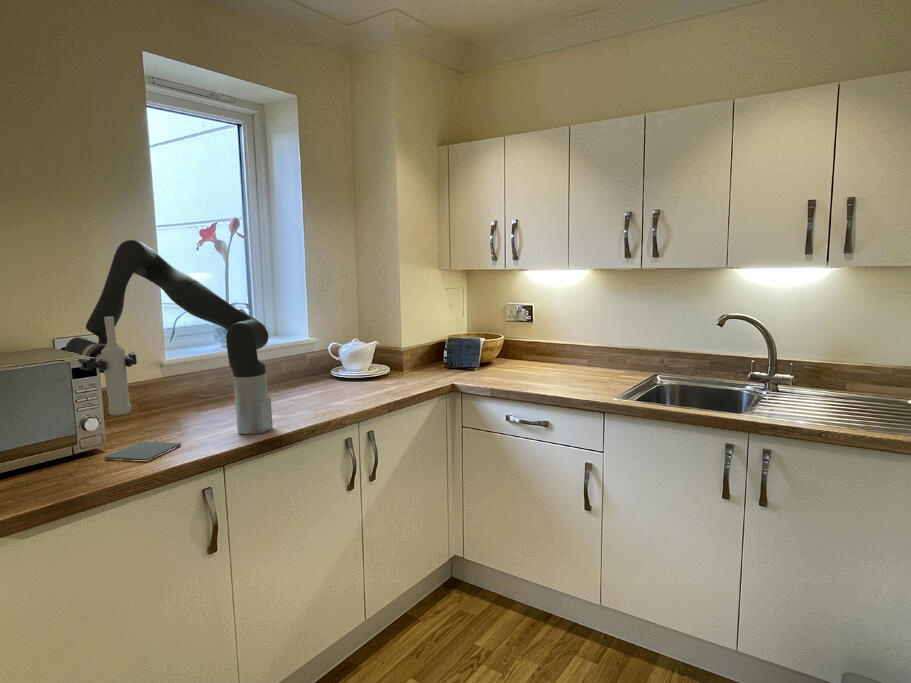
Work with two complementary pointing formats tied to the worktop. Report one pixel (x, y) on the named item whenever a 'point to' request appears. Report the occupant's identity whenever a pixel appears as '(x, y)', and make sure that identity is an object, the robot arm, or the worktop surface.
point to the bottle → (115, 372)
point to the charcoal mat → (142, 451)
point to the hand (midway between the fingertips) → (117, 364)
